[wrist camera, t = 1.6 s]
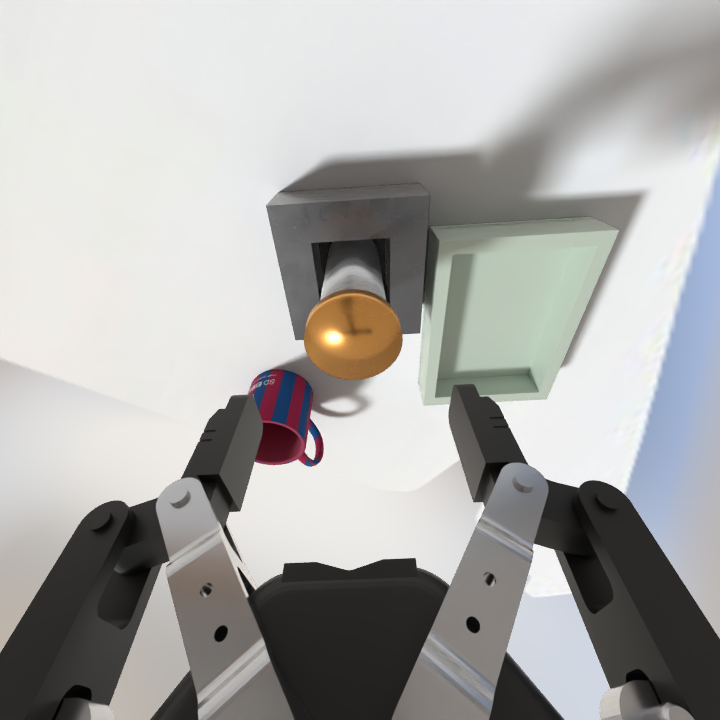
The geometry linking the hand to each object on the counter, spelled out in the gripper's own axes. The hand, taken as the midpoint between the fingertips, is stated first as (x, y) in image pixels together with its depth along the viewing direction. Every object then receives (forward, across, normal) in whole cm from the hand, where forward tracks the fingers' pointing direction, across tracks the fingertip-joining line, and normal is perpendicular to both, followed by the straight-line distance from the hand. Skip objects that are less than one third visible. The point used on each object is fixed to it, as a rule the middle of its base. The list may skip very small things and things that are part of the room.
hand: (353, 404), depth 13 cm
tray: (+16, -12, +6) cm, 21 cm away
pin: (+16, 0, 0) cm, 16 cm away
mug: (+17, +8, +16) cm, 24 cm away
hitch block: (+16, 0, 0) cm, 16 cm away
